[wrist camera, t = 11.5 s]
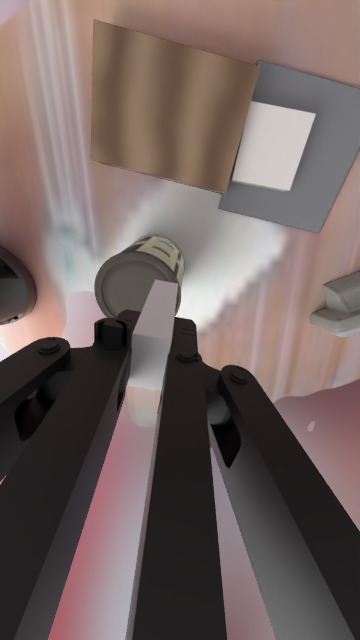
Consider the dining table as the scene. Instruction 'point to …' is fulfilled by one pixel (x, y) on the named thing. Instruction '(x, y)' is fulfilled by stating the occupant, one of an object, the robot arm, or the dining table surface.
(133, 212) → the dining table surface
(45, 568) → the robot arm
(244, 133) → the coaster
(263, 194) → the mat
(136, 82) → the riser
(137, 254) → the coffee can
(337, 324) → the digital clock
